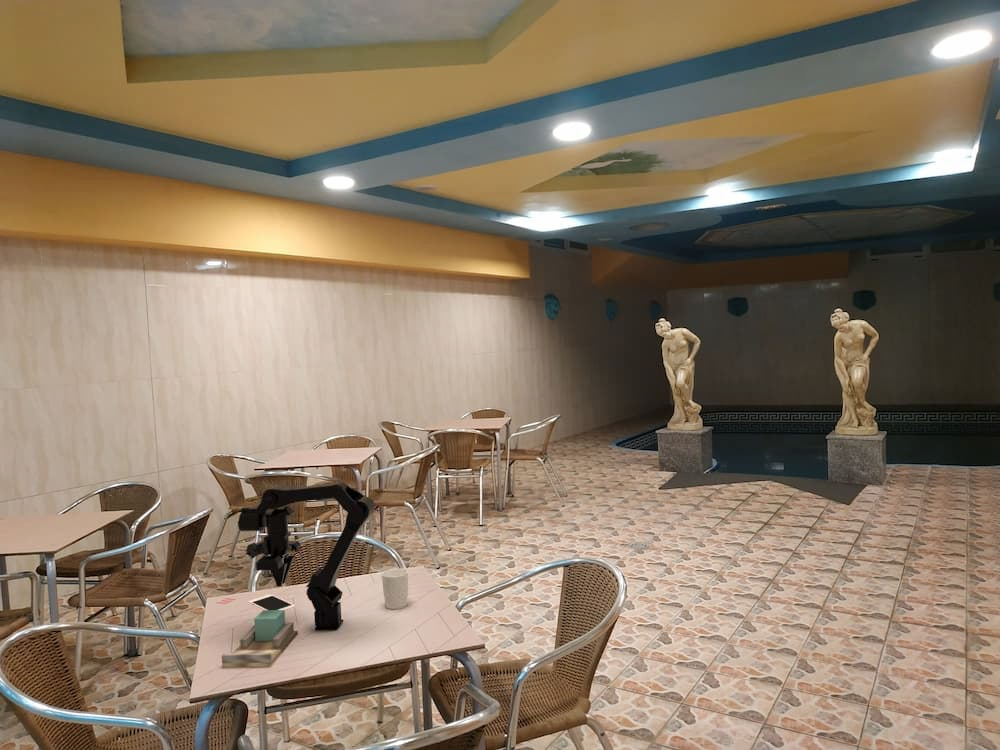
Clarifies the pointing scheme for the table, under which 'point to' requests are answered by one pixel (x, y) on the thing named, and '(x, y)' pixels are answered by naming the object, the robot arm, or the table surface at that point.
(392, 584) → the white cup
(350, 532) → the robot arm
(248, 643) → the chute
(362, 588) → the table surface
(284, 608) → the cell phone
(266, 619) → the block
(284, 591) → the table surface
